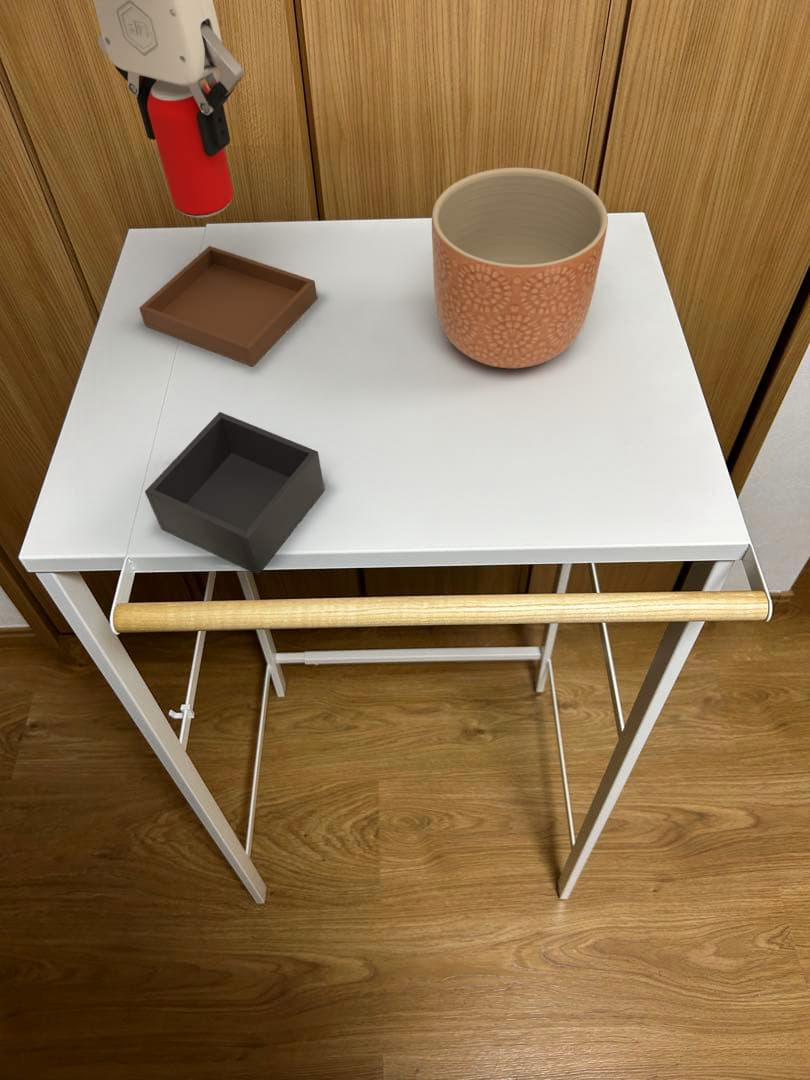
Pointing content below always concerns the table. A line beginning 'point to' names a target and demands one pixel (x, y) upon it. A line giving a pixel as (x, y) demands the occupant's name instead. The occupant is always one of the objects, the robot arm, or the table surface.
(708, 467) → the table surface
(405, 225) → the table surface
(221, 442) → the bin
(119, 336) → the table surface
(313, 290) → the tray
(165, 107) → the beverage can
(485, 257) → the planter
